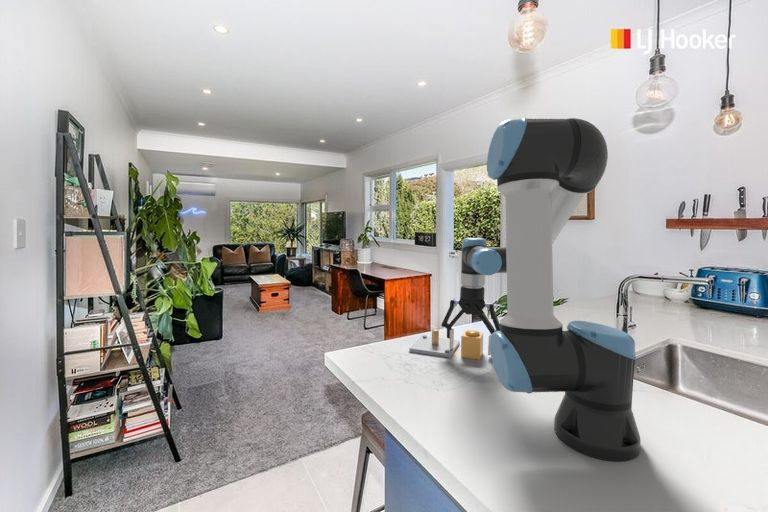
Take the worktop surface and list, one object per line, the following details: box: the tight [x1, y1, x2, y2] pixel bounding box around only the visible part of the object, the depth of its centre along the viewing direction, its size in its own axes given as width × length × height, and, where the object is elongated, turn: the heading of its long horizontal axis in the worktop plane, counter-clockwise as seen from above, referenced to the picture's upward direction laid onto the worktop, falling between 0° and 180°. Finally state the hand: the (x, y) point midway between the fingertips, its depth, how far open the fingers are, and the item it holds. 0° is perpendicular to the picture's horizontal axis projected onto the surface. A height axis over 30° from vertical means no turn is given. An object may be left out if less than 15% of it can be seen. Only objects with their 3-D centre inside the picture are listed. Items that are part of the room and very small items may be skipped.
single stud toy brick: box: [460, 329, 484, 361], centre depth 118 cm, size 6×6×8 cm
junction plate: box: [408, 328, 461, 359], centre depth 125 cm, size 14×14×6 cm
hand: (470, 350), depth 118 cm, fingers open, 12 cm apart
